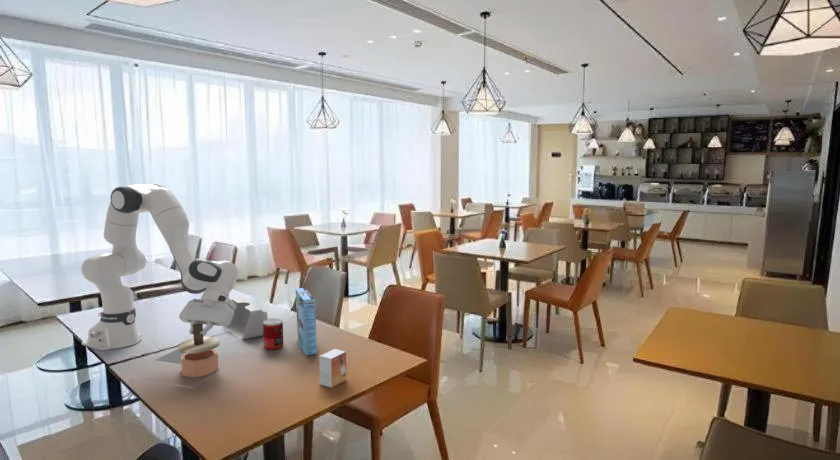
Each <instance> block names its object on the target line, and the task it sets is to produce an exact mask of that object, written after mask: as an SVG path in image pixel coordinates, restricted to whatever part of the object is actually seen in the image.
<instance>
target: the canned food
mask: <svg viewBox="0 0 840 460" xmlns="http://www.w3.org/2000/svg"><path fill="white" fill-rule="evenodd" d="M283 323H284V322H283V319H280V318H269V319H268V320H265V321H264V322H263V335H262V336H263V337H262V338H263V347H264V349H265V350H266V351H267V350H268V351H277V350H280V349H282V348H283V347H284V324H283Z"/></svg>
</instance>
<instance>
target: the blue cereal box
mask: <svg viewBox="0 0 840 460" xmlns="http://www.w3.org/2000/svg"><path fill="white" fill-rule="evenodd" d="M295 302H296V303H295V305H296V325H297V326H296V328H297V331H296V332H297V342H298V343H299V345H300V348H301V350H302V352H303V354H304V355H305V356H306V357H307V356H312V355H313V356H314V355H317V354H318V342H317V317H316V315H317V314H316V312H317V311H316V298H315V297H314V296H313V294H311V292H310V291H309V290H308V288H307V287H299V288H298V287H297V288H295Z"/></svg>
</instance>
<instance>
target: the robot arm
mask: <svg viewBox="0 0 840 460" xmlns="http://www.w3.org/2000/svg"><path fill="white" fill-rule="evenodd" d="M107 208H108V209H107V212H106V214H105V215H106V217H105V223H104V231H103V239H105V241H106V242H107V243H109V244H110V245H112V250H111V252H104V253H99V254H96V255H94V256H90V257H88V258H86V259H85V260H83V262H82V264H81V268H80V270H81V271H80V272H81V274H82V276H83V278H84V279H85V280H87V282H90V283H92V284H93V285H95V287H96V288H97V289H98V291H99V293H100V296H101V297H100V298H101V304H102V312H98V313H97V315H98V317H99V316H100V319H99V321H97V323H95V324H94V325H93V326H92V327H90V328H89V330H88V334H87V335H88V336H87V337H88V338H86V339H84V340H83V341H82V342H81V345H82V346H85V347H88V348H91V349H95V350H98V351H101V352H102V351H109V350H114V349H120V348H125V347H127V348H128V347H129V346H133V345H135V344H137V343H139V342H140V341H141V340H142V338H141V332H140V331H139V325H138V320H137V318H136V317H137V314H136V313H137V311H136V307H135V304H134V292H133V290H132V289H131V288H130V287H129V286H126V285H123V282H122V279H121V278H122V277H127V276H131V275H135V274H136V273H138V272H140V271H142V270H143V269H144V268H145V266H146V264H147V259H146V256H145V254H144V253H143V252H142V251H141V250H140V249H139V247H138V245H137V241H136V237H137V228H138V222H139V215H140V214H141V213H142V214H143V213H146V212H147V213H148V212H149V214H150V215H151V217H152V219H153V221H154V223H155V224H156V226H157V228H158V230H159V232H160V233H161V235H162V237H163V239H164V240H165V242H166V244H167V246H168V248H169V250H170V253H171V255H172V257H173V259H174V262H175V263H176V266H177V268H178V269H179V272H180V284H181V287H182V288H183V289H184V291H185V292H186V293H189V294H193V295H196V294H197V295H198V294H202V296H201V297H200V299H197V298H193V299H191V300H189V301H188V302H186V304H185V306H184V307H183V309H182V310H181V312H180V313H179V315H178V318H179V320H180V321H182V322H183V323H189V324H190V329H189V330H188V333H189V334H190V335H193V325H194V324H203V325H206V326H205V327H203V329H201V331H200V334H201V335H203V337H206V336H207V333H208V332H209V331H210V330H212V329H213V327H214V326H218V327H223V326H225V327H226V326H228V325H229V324H230V323H231V320H232V318H233V315H234V310H235V309H236V307H237V306H236V305H235V303H234V302H233V301H232V299H231V298H229V297H230V293H231V291H232V290H233V289H234V287H235V285H236V282H237V281H238V277H239V273H240V272H239V268H238V267H237V265H236V264H235V263H233V262H231V261H228V260H219V261H216V260H215V261H214V260H209V259H206V258H201V257H200V258H196V259H194V256H193V255H192V253H191V250H190V248H189V244H188V237H189V236H188V235H189V229H190V222H189V219H188V216H187V213H186V211H185V209H184V207H183V206H182V204H181V203H180V201H179V199H178V198H177V197H176V196H175V195H174V193H173V192H172V191H171V190H170V189H169V188H167V187H166V186H164V185H161V184H156V183H153V184H151V183H150V184H149V183H148V184H147V183H139V184H131V185H121V186H118V187H115V188H114V189H113V190H112V191H111V193H110V202H109V205H108V207H107Z"/></svg>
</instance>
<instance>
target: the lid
mask: <svg viewBox="0 0 840 460" xmlns="http://www.w3.org/2000/svg"><path fill="white" fill-rule="evenodd" d="M203 325H204V324H194V325H193V334H192V335H193V338H189V339H185V340H183V341H182V342H180V343H178V345H177V349H178V351H179V352H181V353H188V354H192V353H201V352H206V351H209V350H212V349H216V348H218V347H219V346H220V345H221V342H220V341H221V340H220V339H219V338H217V337H215V336H204V335H201V334H200V331H201V329H204V326H203Z"/></svg>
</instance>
